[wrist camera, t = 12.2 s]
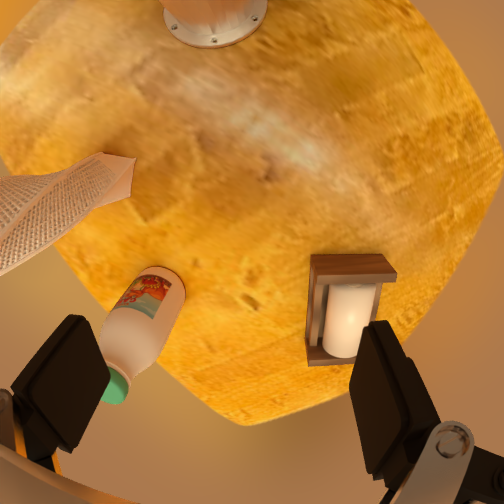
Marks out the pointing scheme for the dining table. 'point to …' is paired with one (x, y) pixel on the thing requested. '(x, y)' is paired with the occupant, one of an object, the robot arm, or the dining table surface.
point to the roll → (347, 317)
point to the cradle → (321, 277)
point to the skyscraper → (56, 203)
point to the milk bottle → (139, 328)
